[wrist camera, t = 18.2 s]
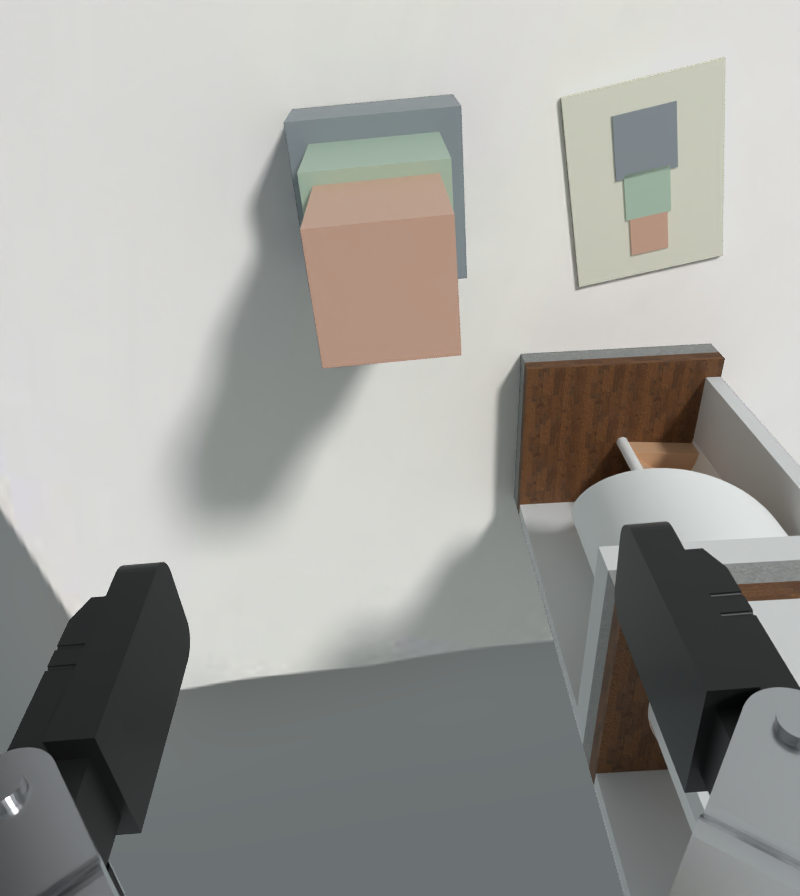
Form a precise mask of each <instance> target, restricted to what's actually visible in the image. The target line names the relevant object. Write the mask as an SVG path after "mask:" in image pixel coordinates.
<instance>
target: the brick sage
mask: <svg viewBox="0 0 800 896" xmlns="http://www.w3.org/2000/svg"><path fill="white" fill-rule="evenodd" d="M435 173H440V175H441V177H442V180H443V183H444V186H445V189H446V191H447V194H448V197H449V200H450V203H451V206H452V208H453V185H452V162H451V157H450V154H449V152H448V150H447V148H446V145H445V143H444V141H443V139H442V137H441V134H440V132H430V133H420V134H409V135H399V136H388V137H378V138H367V139H357V140H346V141H336V142H325V143H315V144H308V146H307V149H306V152H305V154H304V157H303V159H302V162H301V164H300V167H299V169H298V172H297V175H298V182H299V189H300V195H301V202H302V208H303V215H304V214H305V211H306V207H307V204H308V200H309V197H310V194H311V190H312V187H313V186H316V185H326V184H336V183H346V182H356V181H366V180H376V179H386V178H395V177H405V176H415V175H425V174H435ZM453 211H454V209H453Z"/></svg>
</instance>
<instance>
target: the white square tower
mask: <svg viewBox="0 0 800 896" xmlns="http://www.w3.org/2000/svg"><path fill="white" fill-rule="evenodd" d="M724 360H725V358H724V357H723V356H722V355H721V354H720V353H719V352H718V351H717V350H716V349H715V348H714V347H713V346H712V344H698V345H680V346H661V347H643V348H624V349H606V350H587V351H569V352H550V353H532V354H521V369H520V389H519V410H518V430H517V450H516V470H515V491H514V498H515V502H516V505H517V509H518V513H519V516H520V520H521V524H522V527H523V531H524V534H525V538H526V542H527V545H528V549H529V552H530V556H531V560H532V563H533V567H534V571H535V574H536V578H537V581H538V585H539V589H540V592H541V596H542V600H543V603H544V607H545V610H546V614H547V618H548V621H549V625H550V628H551V632H552V636H553V639H554V643H555V646H556V650H557V654H558V657H559V661H560V665H561V668H562V672H563V675H564V679H565V682H566V686H567V690H568V694H569V697H570V701H571V704H572V708H573V712H574V715H575V719H576V722H577V726H578V730H579V733H580V737H581V741H582V744H583V747H584V751H585V755H586V758H587V762H588V766H589V769H590V773H591V777H592V780H593V784H594V788H595V791H596V795H597V799H598V802H599V806H600V809H601V813H602V817H603V820H604V824H605V827H606V831H607V834H608V838H609V842H610V846H611V849H612V853H613V856H614V860H615V864H616V867H617V871H618V875H619V878H620V882H621V885H622V889H623V893H624V896H669V893H670V891H671V888H672V885H673V883H674V880H675V877H676V875H677V872H678V870H679V867H680V864H681V862H682V859H683V856H684V854H685V851H686V848H687V846H688V843H689V840H690V838H691V835H692V833H693V830H694V828H695V825H696V823H697V820H698V818H699V816H700V815H701V814H703V812H704V810H705V808H706V805H707V802H708V800H709V797H710V795H709V793H708V791H704V792H692V793H684V790H683V787H682V785H681V782H680V780H679V777H678V774H677V772H676V769H675V767H674V764H673V762H672V759H671V756H670V754H669V751H668V749H667V746H666V743H665V741H664V738H663V736H662V733H661V730H660V728H659V725H658V723H657V720H656V717H655V715H654V712H653V710H652V707H651V704H650V702H649V699H648V697H647V694H646V692H645V689H644V686H643V684H642V681H641V679H640V676H639V673H638V671H637V668H636V666H635V663H634V660H633V658H632V655H631V653H630V650H629V647H628V645H627V642H626V640H625V637H624V634H623V632H622V629H621V627H620V624H619V621H618V617H617V612H616V606H615V581H616V571H617V561H618V552H619V542H620V533H621V529H622V527H623V526H624V525H628V524H640V523H652V522H664V521H667V522H669V523H670V524H671V526H672V527H673V529H674V531H675V532H676V534H677V536H678V538H679V540H680V541H681V543H682V545H683V547H684V549H685V550H686V549H698V548H703V549H704V550H706V551H707V552H708V553H709V554H711V555H712V556H713V557H714V558H716V559H717V560H718V561H720V562H721V563H722V564H723V565H725V566H726V567H727V568H728V570H729V571H730V573H731V575H732V576H733V578H734V580H735V581H736V583H737V585H738V586H739V588H740V589H741V594H742V596H745V598H746V599H747V601H748V603H749V604H750V606H751V608H752V609H753V614H754V615H756V616H757V618H758V619H759V621H760V622H761V624H762V626H763V627H764V629H765V631H766V632H767V634H768V636H769V637H770V639H771V641H772V642H773V644H774V646H775V647H776V649H777V650H778V652H779V654H780V655H781V657H782V659H783V660H784V662H785V664H786V665H787V667H788V669H789V670H790V672H791V674H792V675H793V677H794V678H795V680H796V682H797V683H798V685H799V687H800V465H799V464H798V463H797V462H796V461H795V460H794V459H793V458H792V456H791V455H790V454H789V453H788V452H787V451H786V450H785V449H784V447H783V446H782V445H781V444H780V443H779V442H778V441H777V439H776V438H775V437H774V436H773V435H772V434H771V433H770V432H769V430H768V429H767V428H766V427H765V426H764V425H763V424H762V423H761V421H760V420H759V419H758V418H757V417H756V416H755V415H754V413H753V412H752V411H751V410H750V409H749V408H748V407H747V406H746V404H745V403H744V402H743V401H742V400H741V399H740V398H739V397H738V395H737V394H736V393H735V392H734V391H733V390H732V389H731V387H730V386H729V385H728V384H727V383H726V382H725V381H724V380H723V378H722V377H721V374H722V369H723V365H724Z"/></svg>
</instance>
